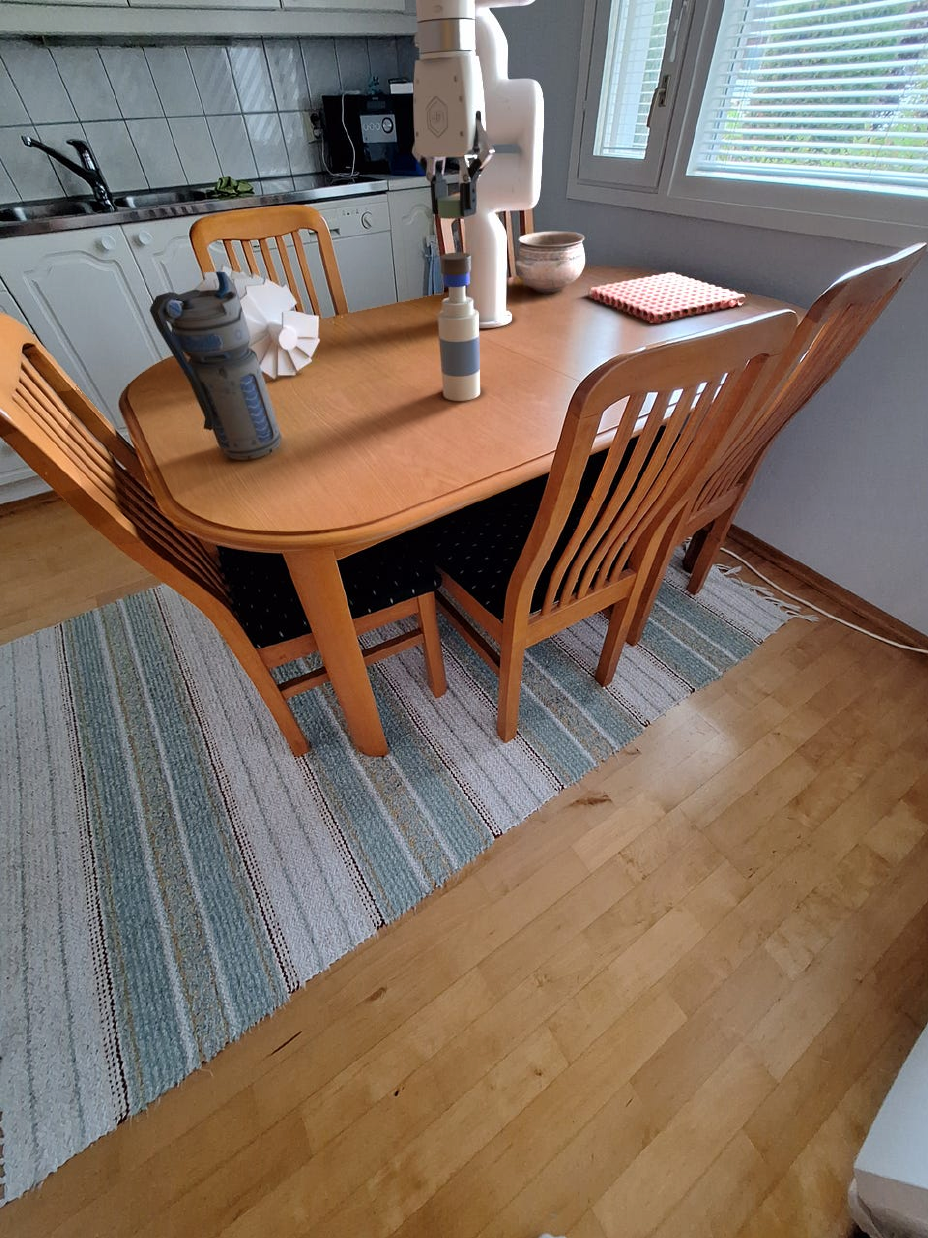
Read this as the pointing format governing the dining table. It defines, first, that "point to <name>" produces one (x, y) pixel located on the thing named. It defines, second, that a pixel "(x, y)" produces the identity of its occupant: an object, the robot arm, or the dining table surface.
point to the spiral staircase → (271, 322)
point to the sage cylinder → (449, 207)
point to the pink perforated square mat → (665, 297)
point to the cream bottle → (459, 341)
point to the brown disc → (455, 263)
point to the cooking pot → (550, 260)
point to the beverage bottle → (220, 366)
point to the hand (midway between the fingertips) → (454, 212)
